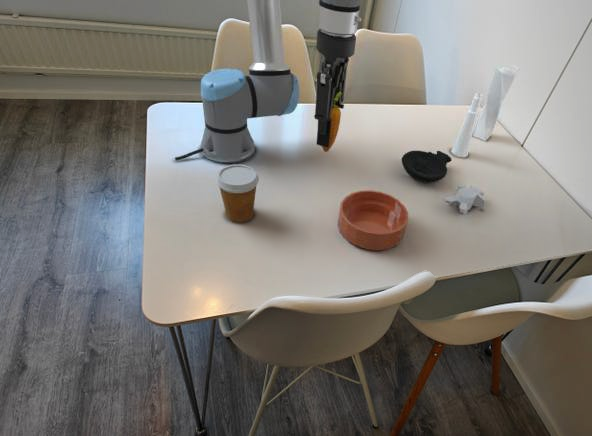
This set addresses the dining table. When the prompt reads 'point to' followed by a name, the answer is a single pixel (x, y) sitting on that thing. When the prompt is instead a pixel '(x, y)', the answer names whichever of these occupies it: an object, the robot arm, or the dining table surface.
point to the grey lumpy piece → (467, 198)
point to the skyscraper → (494, 101)
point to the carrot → (334, 122)
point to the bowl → (372, 219)
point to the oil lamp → (426, 165)
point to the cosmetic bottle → (467, 128)
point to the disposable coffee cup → (238, 191)
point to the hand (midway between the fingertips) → (326, 139)
